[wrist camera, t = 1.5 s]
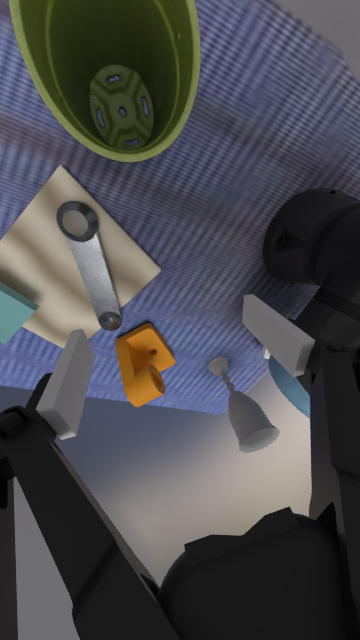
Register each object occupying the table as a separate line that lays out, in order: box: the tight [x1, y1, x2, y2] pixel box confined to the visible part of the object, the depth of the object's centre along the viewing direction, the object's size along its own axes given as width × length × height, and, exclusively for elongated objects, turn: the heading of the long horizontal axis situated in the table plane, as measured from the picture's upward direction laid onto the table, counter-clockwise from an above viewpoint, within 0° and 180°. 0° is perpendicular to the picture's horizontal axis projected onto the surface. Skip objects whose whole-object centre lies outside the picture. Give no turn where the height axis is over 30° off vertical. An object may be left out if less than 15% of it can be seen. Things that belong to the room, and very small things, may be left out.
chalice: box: [208, 357, 279, 453], centre depth 40 cm, size 7×7×18 cm
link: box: [56, 201, 123, 331], centre depth 28 cm, size 18×4×2 cm, turn 5°
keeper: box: [0, 282, 39, 344], centre depth 26 cm, size 7×6×5 cm
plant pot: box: [9, 0, 201, 162], centre depth 18 cm, size 12×12×11 cm
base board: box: [0, 165, 161, 349], centre depth 28 cm, size 22×17×5 cm
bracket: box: [116, 323, 175, 407], centre depth 35 cm, size 11×7×12 cm, turn 26°
